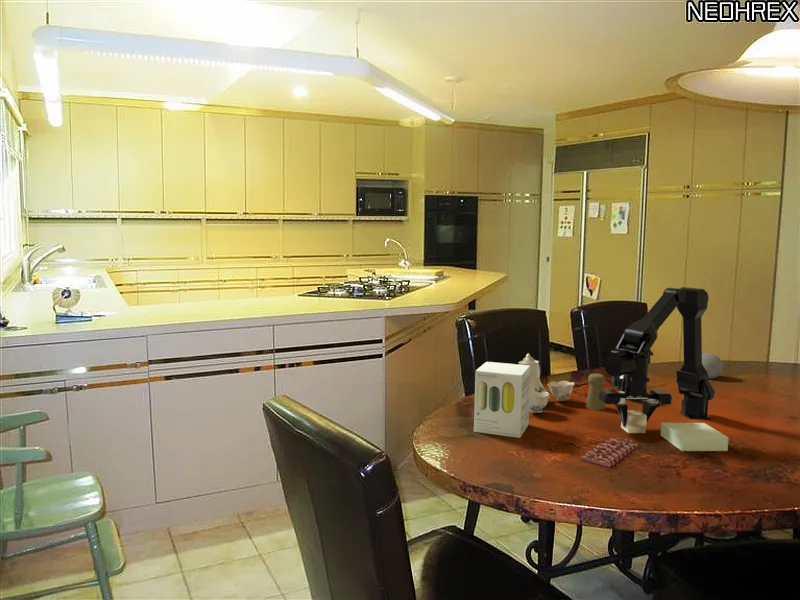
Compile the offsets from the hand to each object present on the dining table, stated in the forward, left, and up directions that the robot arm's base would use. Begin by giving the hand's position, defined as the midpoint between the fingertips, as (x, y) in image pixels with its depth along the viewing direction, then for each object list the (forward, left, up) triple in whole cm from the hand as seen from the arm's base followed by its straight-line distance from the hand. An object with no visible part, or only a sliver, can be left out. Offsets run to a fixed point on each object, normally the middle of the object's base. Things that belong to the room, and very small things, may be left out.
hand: (633, 426), depth 176 cm
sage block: (-12, +10, -2) cm, 16 cm away
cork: (+3, -22, -1) cm, 22 cm away
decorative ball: (-55, -62, -1) cm, 83 cm away
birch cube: (0, 0, -1) cm, 1 cm away
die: (-13, -32, -2) cm, 35 cm away
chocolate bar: (+13, +17, -2) cm, 22 cm away
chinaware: (+21, -24, -2) cm, 32 cm away
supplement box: (+37, -2, -1) cm, 37 cm away
